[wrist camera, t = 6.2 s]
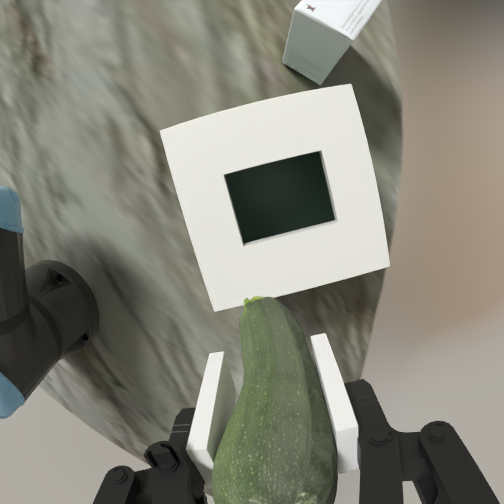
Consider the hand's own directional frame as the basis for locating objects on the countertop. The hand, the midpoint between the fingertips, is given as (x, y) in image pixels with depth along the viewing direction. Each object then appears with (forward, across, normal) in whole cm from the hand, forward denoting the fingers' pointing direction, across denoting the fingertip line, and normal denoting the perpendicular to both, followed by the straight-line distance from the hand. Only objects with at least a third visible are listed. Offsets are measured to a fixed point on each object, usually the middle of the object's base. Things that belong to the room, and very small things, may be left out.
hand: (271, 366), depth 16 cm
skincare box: (+26, +12, +23) cm, 37 cm away
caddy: (+26, +2, +7) cm, 27 cm away
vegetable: (+7, 0, 0) cm, 7 cm away
